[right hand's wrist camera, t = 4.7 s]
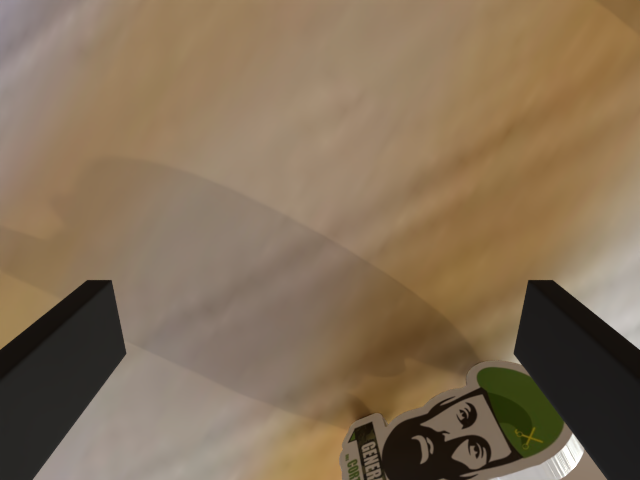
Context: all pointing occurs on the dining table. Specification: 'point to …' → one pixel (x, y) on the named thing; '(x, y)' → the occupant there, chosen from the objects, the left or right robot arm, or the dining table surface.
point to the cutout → (467, 434)
